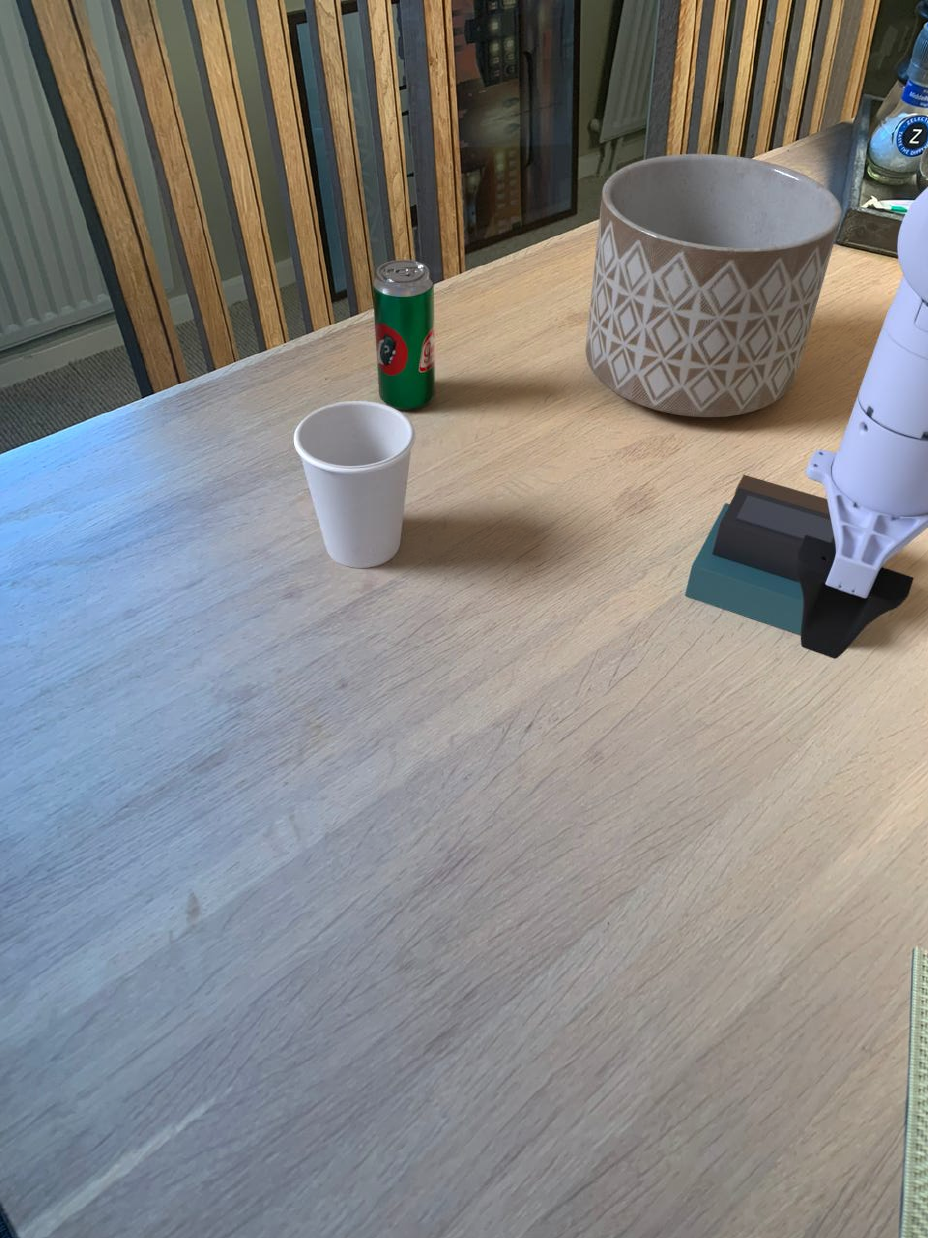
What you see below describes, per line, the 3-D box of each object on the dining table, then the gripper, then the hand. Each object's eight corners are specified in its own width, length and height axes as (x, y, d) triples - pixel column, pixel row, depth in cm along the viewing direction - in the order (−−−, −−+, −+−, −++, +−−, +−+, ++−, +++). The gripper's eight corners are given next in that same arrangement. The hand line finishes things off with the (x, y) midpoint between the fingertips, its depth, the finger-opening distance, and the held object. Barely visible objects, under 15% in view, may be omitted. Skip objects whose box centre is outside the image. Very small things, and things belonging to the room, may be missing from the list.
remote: (853, 557, 70) (866, 523, 68) (839, 596, 67) (853, 561, 65) (730, 519, 73) (739, 484, 71) (711, 554, 70) (720, 520, 68)
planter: (694, 460, 83) (734, 273, 72) (541, 364, 94) (554, 188, 82) (834, 384, 92) (890, 206, 80) (680, 304, 103) (709, 137, 91)
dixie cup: (300, 517, 77) (286, 407, 70) (405, 501, 79) (401, 392, 72) (316, 588, 72) (302, 477, 65) (429, 570, 73) (427, 459, 66)
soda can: (434, 414, 88) (432, 286, 79) (377, 413, 88) (369, 284, 79) (436, 383, 91) (434, 257, 83) (381, 382, 91) (374, 256, 83)
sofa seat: (837, 648, 68) (857, 601, 65) (684, 596, 72) (695, 549, 68) (867, 562, 74) (886, 516, 71) (725, 518, 78) (737, 472, 75)
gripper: (867, 320, 54) (800, 514, 63) (798, 461, 45) (732, 662, 54) (1004, 355, 52) (913, 551, 61) (961, 511, 42) (861, 711, 52)
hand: (836, 606), depth 58 cm, fingers open, 7 cm apart
